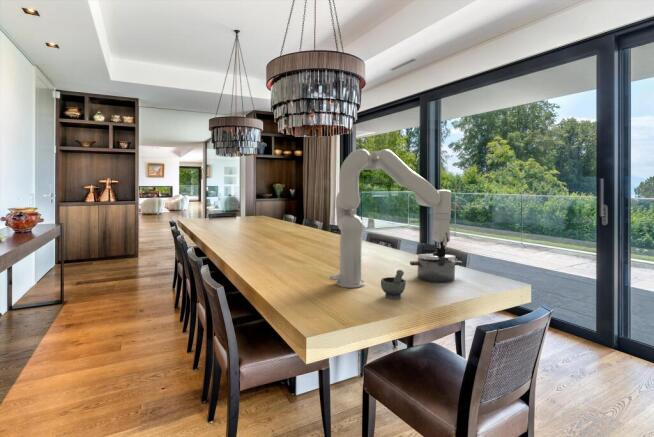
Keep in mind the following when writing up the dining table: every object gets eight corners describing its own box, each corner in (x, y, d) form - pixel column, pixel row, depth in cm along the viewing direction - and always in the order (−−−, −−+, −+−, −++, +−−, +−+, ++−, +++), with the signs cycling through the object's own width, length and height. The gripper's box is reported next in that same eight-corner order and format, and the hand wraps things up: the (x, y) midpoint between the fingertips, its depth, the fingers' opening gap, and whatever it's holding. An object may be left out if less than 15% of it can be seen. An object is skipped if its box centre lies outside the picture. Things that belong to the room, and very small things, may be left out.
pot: (415, 283, 162) (416, 263, 161) (405, 273, 180) (405, 255, 179) (468, 282, 163) (469, 263, 162) (452, 273, 181) (453, 255, 180)
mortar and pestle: (376, 294, 144) (377, 265, 143) (397, 292, 148) (397, 264, 146) (390, 303, 134) (391, 272, 133) (412, 300, 137) (412, 270, 136)
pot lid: (425, 260, 159) (425, 254, 159) (413, 256, 178) (413, 250, 178) (463, 260, 160) (463, 254, 160) (446, 256, 179) (446, 250, 179)
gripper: (428, 215, 170) (427, 253, 172) (439, 218, 155) (438, 260, 157) (443, 215, 170) (442, 253, 172) (456, 218, 155) (455, 259, 157)
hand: (441, 256), depth 164 cm, fingers closed
